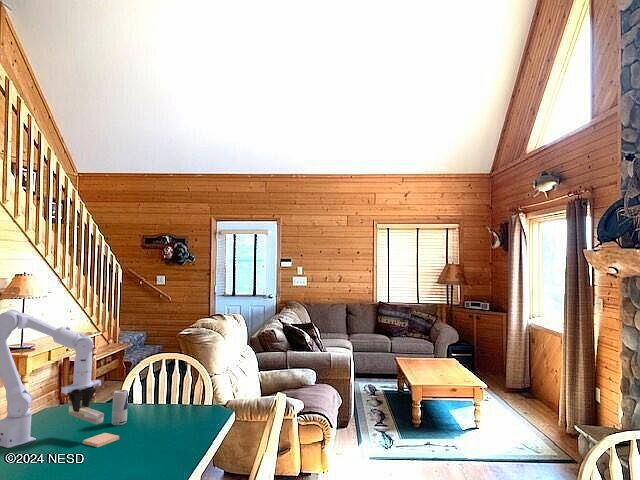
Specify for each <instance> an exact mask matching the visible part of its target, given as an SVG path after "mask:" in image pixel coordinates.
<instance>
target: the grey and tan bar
mask: <svg viewBox="0 0 640 480" xmlns="http://www.w3.org/2000/svg"><path fill="white" fill-rule="evenodd" d="M67 413H68V415H70V416H72V417H75V418H78V419H80V420H83V421H86V422H88V423H91V424H93V425H98V424H102V423H103V422H104V418H105V417H104V416H105V413H104V412H101V411H99V410H96V409H93V408H90V407H85V406H82V404H80V409H79V412H74V411H73V406H72V404H69V406H68V412H67Z"/></svg>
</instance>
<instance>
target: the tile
mask: <svg viewBox="0 0 640 480" xmlns="http://www.w3.org/2000/svg"><path fill="white" fill-rule="evenodd" d="M118 440H120V435H117V434H112V433H108V432H103V433H100V434H98V435H94V436H92V437H88V438H86V439H83V440H82V444H83V445H87V446H92V447H96V448H99V447H102V446H105V445H108V444H110V443H112V442H115V441H118Z"/></svg>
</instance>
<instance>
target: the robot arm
mask: <svg viewBox="0 0 640 480" xmlns="http://www.w3.org/2000/svg"><path fill="white" fill-rule="evenodd" d="M16 329H17V330H20V329H31V330H34V331H36V332H39V333H41V334H44V335H47V336H49V337H51V338H52V339H53V342H54V343H56V344H58V345H61V346H63V347H65V348H67V349H71V350H74V351H75V358H74V363H73V364H74V365H73V378H72V379H73V381H72V384H71V383H70V384H68V385H66V386H62V387H61V394H64V395H67V396H68V398H69V399H70V402H71V405H72V406H73V411H74V412H79V409H80V405H82V406H85V407H88V408H90V404H91V400H92V398H93V396H94V394H95V393H96V392H97V388H95V387H100V386H102V380H101V379H95V380H92V371H93V349H94V340H93V339H92V338H91V337H90V336H89V335H84V333H83V332H80V333H79V332H77V331H74V330H72V329H71V327H70V326H66V327H65V326H60V327H55V326H53V325H51V324H49V323H47V322H45V321H43V320H40V319H39V318H37V317H34V316H33V315H30V314H27V313H25V312H20V311H18V310H15V309H9V310H6V311H4V312H2V313H0V379H1V381H2V384H3V386H4V389H5V390H4V391H5V399H6V402H7V403H6V412H7V414H6V416H5V417H3V418H1V419H0V447H4V448H6V449H7V448H8V449H10V448H14V447H17V446H20V445H23V444H26V443H27V444H28V443H30V442H34V441H36V440H37V438H35V437H32V436H31V429H32V416H33V415H32V412H33V411H32V410H31V409H30V407H31V405H32V404H33V396H32V394H30V393H31V392H29V391H28V390H27V388H26V386H25V385H24V384H23V383H22V379H21V377H20V374H19V371H18V368H17V366H16V363H15V361H14V358H13V356H12V353H11V350H10V347H9V344H8V341H7V340H8V339H9V337H10V336H11V334H12V332H13V331H14V330H16Z"/></svg>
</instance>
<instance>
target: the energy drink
mask: <svg viewBox="0 0 640 480" xmlns="http://www.w3.org/2000/svg"><path fill="white" fill-rule="evenodd" d="M128 402H129V392H128V390H127V389H118V390H114V391H113V393H112V411H111V425H113V426H122V425H125V424H126V423H127V421H128V407H129V406H128V405H129V404H128Z"/></svg>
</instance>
